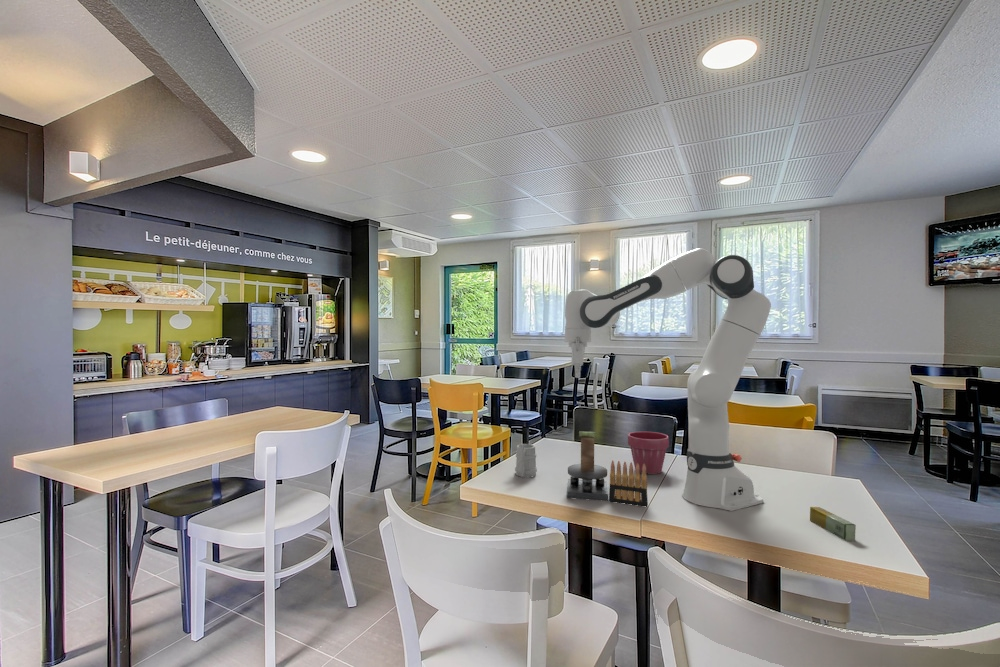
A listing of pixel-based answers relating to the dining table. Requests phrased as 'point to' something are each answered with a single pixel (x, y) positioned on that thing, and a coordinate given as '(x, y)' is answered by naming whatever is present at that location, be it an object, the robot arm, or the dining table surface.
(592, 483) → the stand
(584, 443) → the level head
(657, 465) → the plant pot
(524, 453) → the mug
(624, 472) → the ammunition clip
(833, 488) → the dining table surface
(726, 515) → the dining table surface
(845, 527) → the medication box
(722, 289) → the robot arm
